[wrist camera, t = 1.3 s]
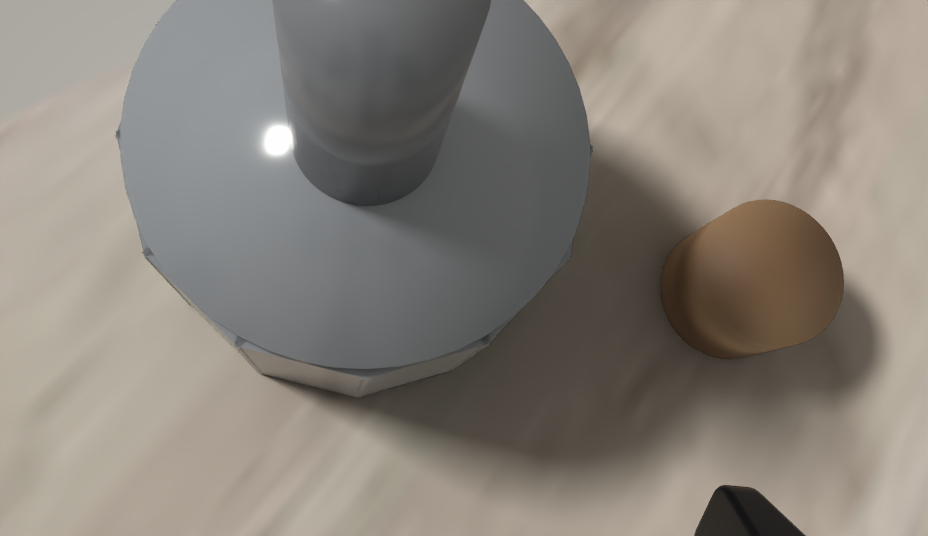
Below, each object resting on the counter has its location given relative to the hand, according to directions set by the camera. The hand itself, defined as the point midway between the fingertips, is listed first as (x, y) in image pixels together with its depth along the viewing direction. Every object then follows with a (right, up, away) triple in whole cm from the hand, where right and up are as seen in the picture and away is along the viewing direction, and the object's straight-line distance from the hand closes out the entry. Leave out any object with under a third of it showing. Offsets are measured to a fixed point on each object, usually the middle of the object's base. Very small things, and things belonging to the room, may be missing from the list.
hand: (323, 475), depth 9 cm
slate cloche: (-2, +4, +14) cm, 15 cm away
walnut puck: (+9, +2, +16) cm, 18 cm away
